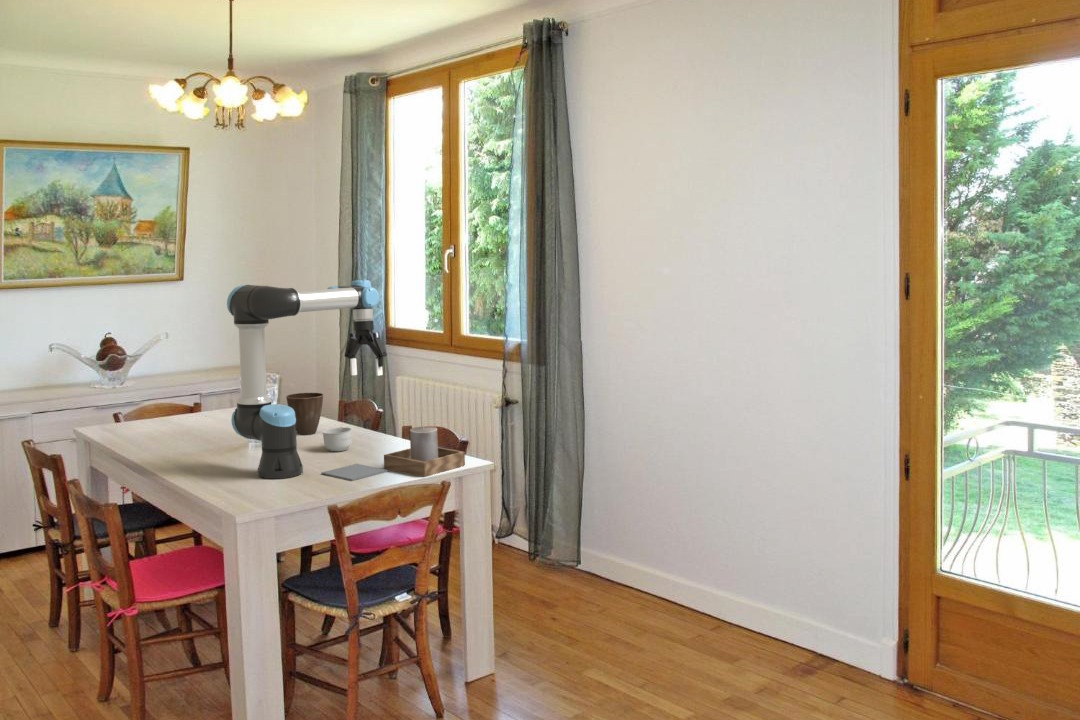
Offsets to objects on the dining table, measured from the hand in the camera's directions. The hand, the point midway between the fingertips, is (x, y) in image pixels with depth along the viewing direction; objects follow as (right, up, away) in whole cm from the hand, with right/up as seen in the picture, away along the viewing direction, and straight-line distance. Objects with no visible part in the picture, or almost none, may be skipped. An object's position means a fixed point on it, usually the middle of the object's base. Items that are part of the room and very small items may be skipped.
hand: (366, 375), depth 384 cm
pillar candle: (+26, -32, -34) cm, 54 cm away
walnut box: (+26, -32, -34) cm, 53 cm away
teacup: (-10, -29, -3) cm, 30 cm away
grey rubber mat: (+3, -33, -41) cm, 53 cm away
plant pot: (-30, -25, +28) cm, 48 cm away
